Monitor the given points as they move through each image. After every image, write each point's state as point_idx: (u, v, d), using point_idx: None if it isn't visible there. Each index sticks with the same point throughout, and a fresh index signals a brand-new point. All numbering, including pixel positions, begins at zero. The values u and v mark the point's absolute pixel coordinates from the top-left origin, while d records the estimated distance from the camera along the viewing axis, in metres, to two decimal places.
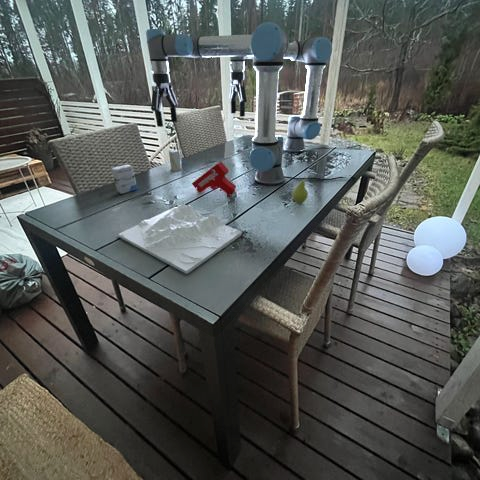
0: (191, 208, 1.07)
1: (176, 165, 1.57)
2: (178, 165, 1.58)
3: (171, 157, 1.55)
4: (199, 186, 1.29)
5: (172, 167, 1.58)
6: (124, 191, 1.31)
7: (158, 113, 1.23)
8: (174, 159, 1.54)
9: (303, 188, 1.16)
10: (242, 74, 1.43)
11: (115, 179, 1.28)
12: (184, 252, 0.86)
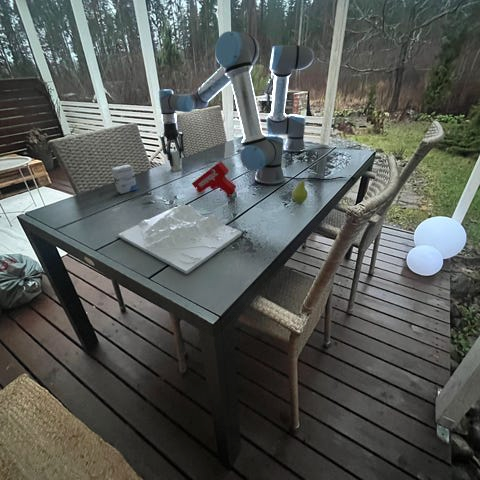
0: (191, 208, 1.07)
1: (176, 165, 1.57)
2: (178, 165, 1.58)
3: None
4: (199, 186, 1.29)
5: (172, 167, 1.58)
6: (124, 191, 1.31)
7: None
8: (174, 159, 1.54)
9: (303, 188, 1.16)
10: None
11: (115, 179, 1.28)
12: (184, 252, 0.86)
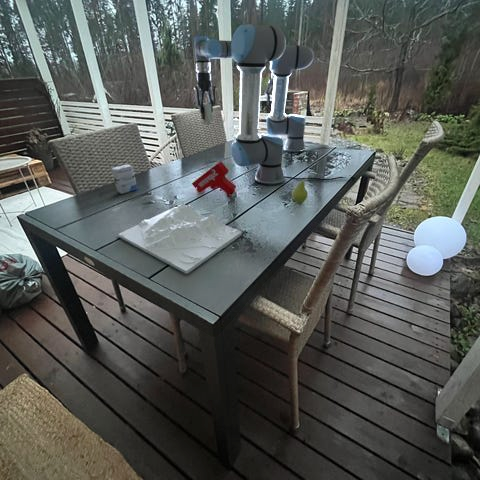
0: (191, 208, 1.07)
1: (208, 118, 1.57)
2: (210, 118, 1.58)
3: None
4: (199, 186, 1.29)
5: (204, 120, 1.58)
6: (124, 191, 1.31)
7: None
8: (206, 111, 1.55)
9: (303, 188, 1.16)
10: None
11: (115, 179, 1.28)
12: (184, 252, 0.86)
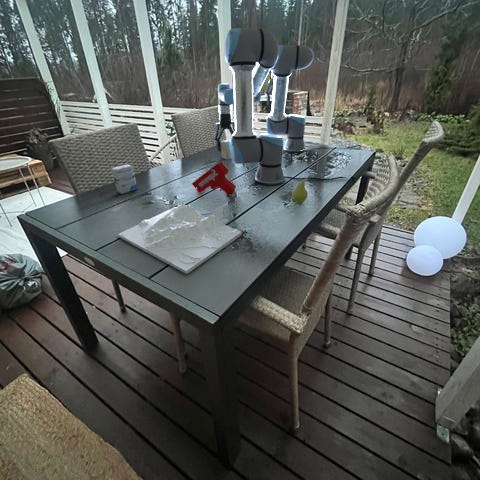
0: (191, 208, 1.07)
1: (228, 154, 1.77)
2: (229, 154, 1.77)
3: (224, 146, 1.75)
4: (199, 186, 1.29)
5: (224, 155, 1.78)
6: (124, 191, 1.31)
7: None
8: (226, 148, 1.74)
9: (303, 188, 1.16)
10: None
11: (115, 179, 1.28)
12: (184, 252, 0.86)
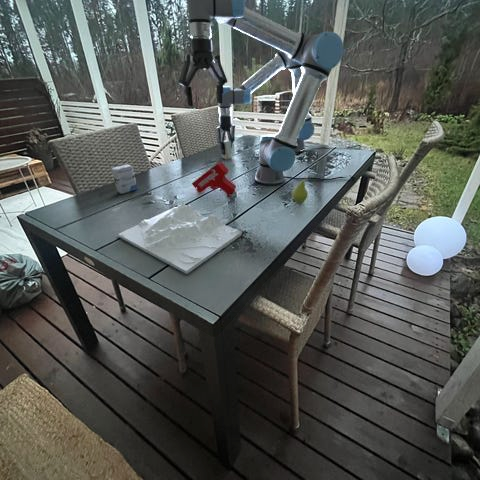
0: (191, 208, 1.07)
1: (228, 154, 1.77)
2: (229, 154, 1.77)
3: None
4: (199, 186, 1.29)
5: (224, 155, 1.78)
6: (124, 191, 1.31)
7: None
8: (226, 148, 1.74)
9: (303, 188, 1.16)
10: None
11: (115, 179, 1.28)
12: (184, 252, 0.86)
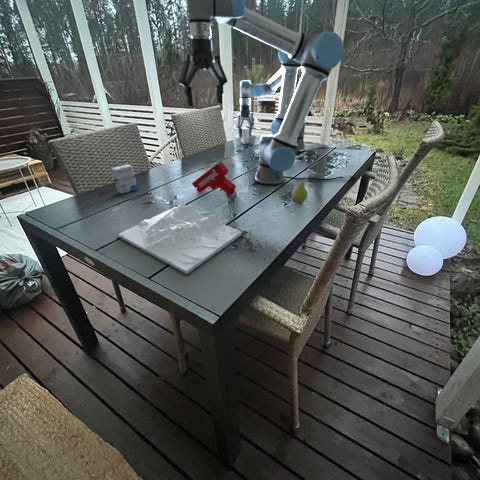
0: (191, 208, 1.07)
1: (246, 139, 2.12)
2: (247, 139, 2.12)
3: (243, 133, 2.10)
4: (199, 186, 1.29)
5: (243, 140, 2.13)
6: (124, 191, 1.31)
7: None
8: (245, 134, 2.09)
9: (303, 188, 1.16)
10: None
11: (115, 179, 1.28)
12: (184, 252, 0.86)
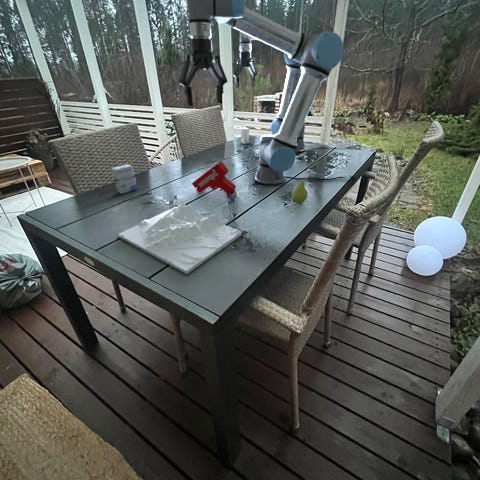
0: (191, 208, 1.07)
1: (246, 139, 2.12)
2: (247, 139, 2.12)
3: (243, 133, 2.10)
4: (199, 186, 1.29)
5: (243, 140, 2.13)
6: (124, 191, 1.31)
7: None
8: (245, 134, 2.09)
9: (303, 188, 1.16)
10: None
11: (115, 179, 1.28)
12: (184, 252, 0.86)
